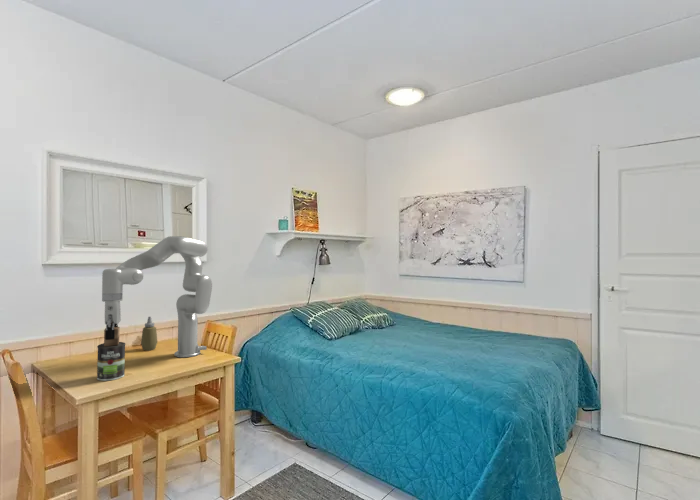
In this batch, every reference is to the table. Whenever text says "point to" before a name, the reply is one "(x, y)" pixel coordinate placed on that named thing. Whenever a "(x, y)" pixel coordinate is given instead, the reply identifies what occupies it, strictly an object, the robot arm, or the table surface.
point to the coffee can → (111, 362)
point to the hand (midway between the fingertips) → (111, 336)
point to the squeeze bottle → (149, 336)
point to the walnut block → (112, 341)
